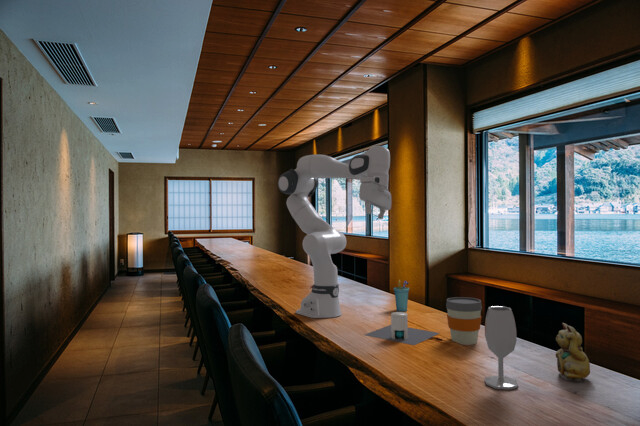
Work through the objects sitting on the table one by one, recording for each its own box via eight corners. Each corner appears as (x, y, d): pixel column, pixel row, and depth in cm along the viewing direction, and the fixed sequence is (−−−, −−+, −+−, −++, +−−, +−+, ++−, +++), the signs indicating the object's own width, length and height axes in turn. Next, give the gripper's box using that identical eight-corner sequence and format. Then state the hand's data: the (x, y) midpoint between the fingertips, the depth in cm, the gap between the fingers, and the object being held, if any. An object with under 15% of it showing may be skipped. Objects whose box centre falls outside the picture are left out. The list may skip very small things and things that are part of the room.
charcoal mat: (363, 336, 175) (363, 334, 175) (391, 325, 191) (391, 324, 190) (414, 346, 161) (414, 345, 161) (440, 334, 176) (440, 333, 176)
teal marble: (394, 337, 171) (393, 329, 170) (398, 336, 173) (398, 328, 173) (401, 339, 169) (400, 331, 169) (405, 337, 171) (405, 329, 171)
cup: (416, 313, 212) (415, 281, 212) (400, 314, 210) (400, 282, 210) (404, 307, 226) (403, 277, 226) (389, 308, 224) (389, 277, 224)
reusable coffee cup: (444, 344, 163) (444, 302, 163) (448, 335, 175) (447, 296, 175) (481, 347, 158) (481, 304, 158) (483, 338, 170) (482, 298, 170)
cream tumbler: (388, 338, 170) (388, 314, 170) (396, 334, 175) (396, 311, 175) (402, 340, 166) (401, 316, 166) (410, 337, 171) (410, 313, 171)
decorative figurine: (551, 371, 135) (551, 320, 135) (581, 371, 134) (580, 320, 134) (565, 383, 125) (565, 329, 125) (597, 384, 124) (596, 329, 124)
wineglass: (478, 379, 129) (477, 305, 129) (508, 377, 130) (507, 304, 130) (493, 391, 120) (491, 312, 120) (524, 389, 121) (523, 311, 121)
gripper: (383, 190, 197) (380, 221, 195) (357, 177, 182) (354, 211, 179) (396, 189, 194) (393, 221, 191) (371, 175, 178) (368, 210, 175)
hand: (374, 216), depth 185 cm, fingers open, 8 cm apart
